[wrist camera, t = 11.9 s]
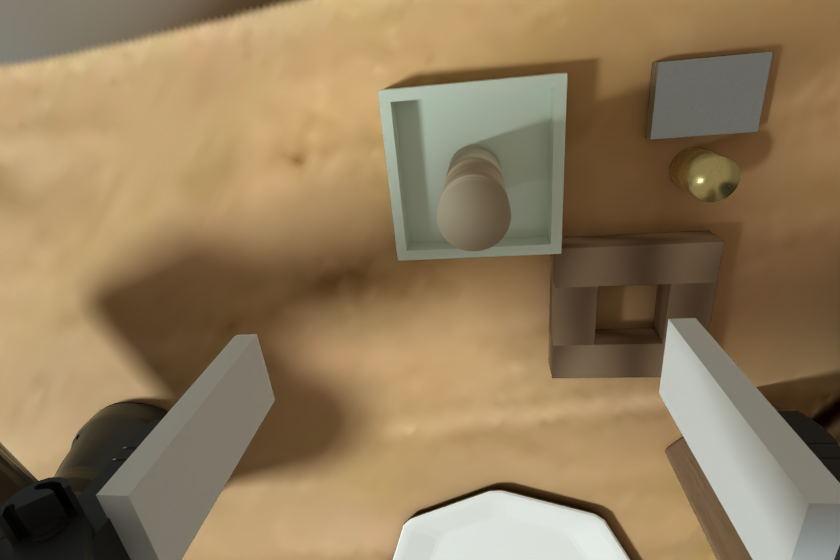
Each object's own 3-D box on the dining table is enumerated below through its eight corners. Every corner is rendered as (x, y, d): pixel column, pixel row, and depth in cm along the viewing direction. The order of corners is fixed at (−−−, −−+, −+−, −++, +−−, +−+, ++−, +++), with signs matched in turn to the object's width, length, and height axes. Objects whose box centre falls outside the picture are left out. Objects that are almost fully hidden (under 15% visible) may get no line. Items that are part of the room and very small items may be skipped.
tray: (402, 249, 41) (397, 260, 38) (384, 88, 35) (377, 90, 33) (556, 242, 39) (561, 253, 37) (561, 72, 34) (567, 73, 31)
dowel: (450, 197, 38) (439, 252, 27) (447, 146, 36) (434, 182, 25) (501, 194, 37) (511, 249, 26) (500, 142, 36) (510, 177, 25)
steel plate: (645, 137, 35) (650, 139, 34) (652, 62, 33) (658, 62, 32) (748, 129, 34) (757, 131, 33) (762, 52, 32) (773, 51, 31)
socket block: (548, 361, 44) (552, 378, 41) (551, 238, 39) (556, 249, 37) (688, 359, 42) (700, 376, 40) (709, 230, 37) (724, 241, 35)
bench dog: (667, 189, 36) (688, 203, 33) (672, 148, 35) (694, 159, 31) (709, 186, 36) (735, 200, 32) (716, 145, 35) (744, 155, 31)
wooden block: (750, 386, 43) (952, 626, 24) (823, 444, 44) (1061, 709, 26) (661, 448, 46) (778, 695, 28) (731, 500, 48) (883, 763, 30)
